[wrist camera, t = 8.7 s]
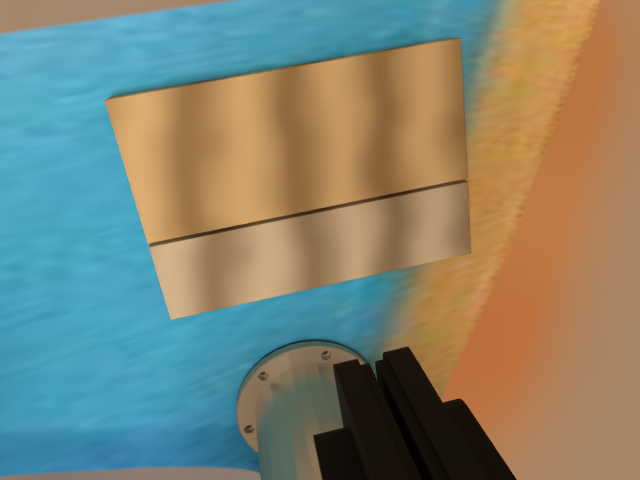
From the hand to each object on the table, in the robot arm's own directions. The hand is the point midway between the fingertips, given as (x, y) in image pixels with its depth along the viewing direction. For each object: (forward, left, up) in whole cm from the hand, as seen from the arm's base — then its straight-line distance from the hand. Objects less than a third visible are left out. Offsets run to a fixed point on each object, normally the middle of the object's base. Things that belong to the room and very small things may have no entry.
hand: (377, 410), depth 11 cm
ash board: (-8, +3, -29) cm, 30 cm away
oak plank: (-1, -2, -29) cm, 29 cm away
